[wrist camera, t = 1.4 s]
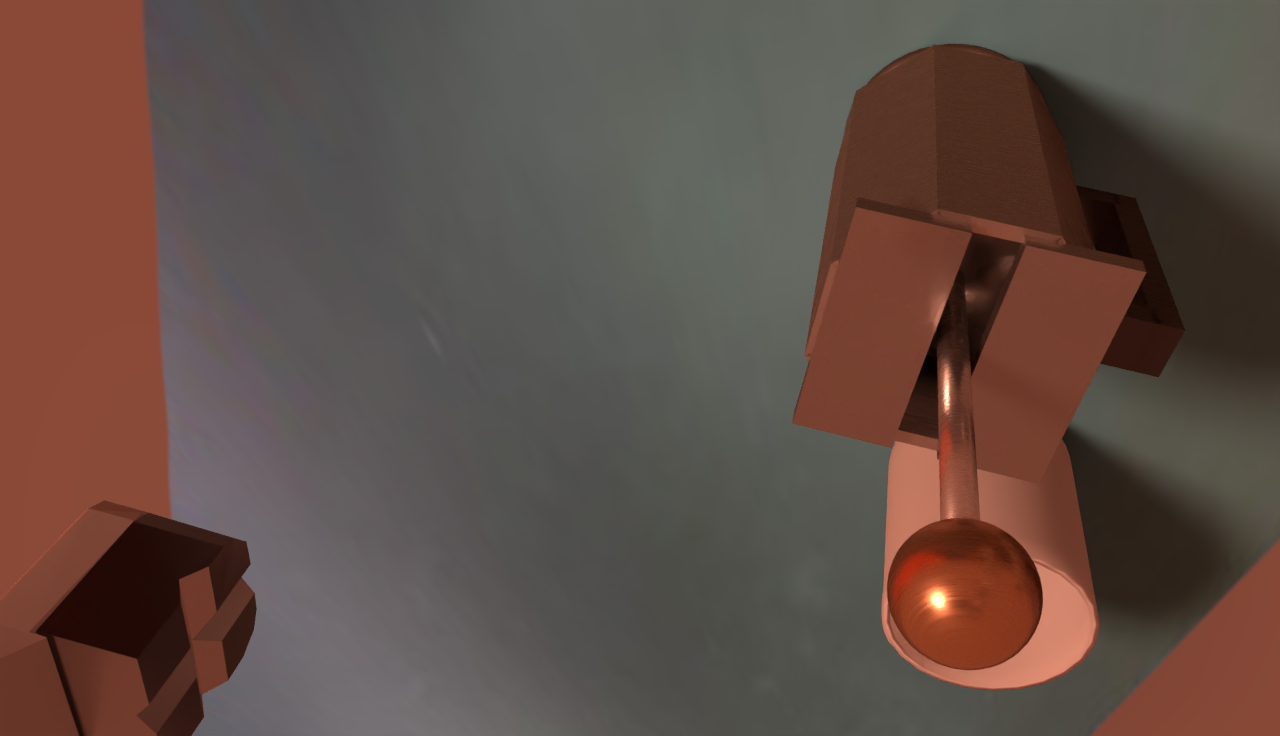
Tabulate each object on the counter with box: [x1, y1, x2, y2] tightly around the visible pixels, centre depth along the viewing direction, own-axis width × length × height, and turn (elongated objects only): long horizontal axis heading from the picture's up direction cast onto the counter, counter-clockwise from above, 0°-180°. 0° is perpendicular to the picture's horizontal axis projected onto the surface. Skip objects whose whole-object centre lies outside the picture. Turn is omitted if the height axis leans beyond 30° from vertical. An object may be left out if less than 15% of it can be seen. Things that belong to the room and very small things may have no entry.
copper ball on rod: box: [887, 232, 1043, 670], centre depth 30 cm, size 7×7×18 cm
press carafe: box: [792, 44, 1185, 484], centre depth 40 cm, size 9×12×17 cm
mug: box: [882, 439, 1100, 691], centre depth 53 cm, size 10×12×12 cm
